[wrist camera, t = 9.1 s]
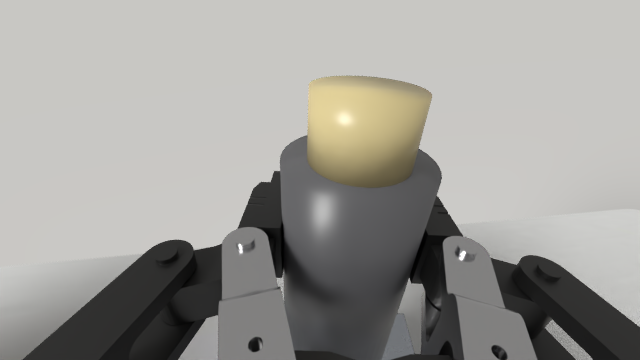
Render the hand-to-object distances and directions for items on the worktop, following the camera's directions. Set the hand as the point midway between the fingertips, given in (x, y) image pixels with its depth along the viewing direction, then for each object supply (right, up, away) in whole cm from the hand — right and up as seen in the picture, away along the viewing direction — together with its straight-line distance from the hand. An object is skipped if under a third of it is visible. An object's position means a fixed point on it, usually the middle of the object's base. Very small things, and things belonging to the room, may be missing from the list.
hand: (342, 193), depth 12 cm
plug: (0, -7, +1) cm, 8 cm away
